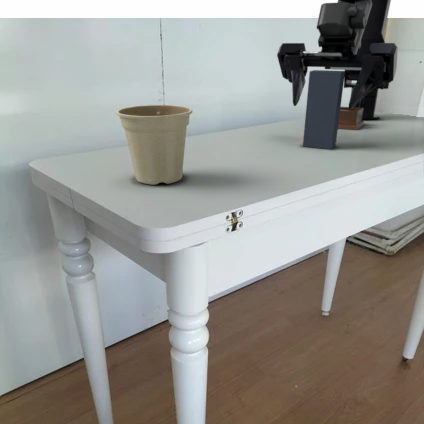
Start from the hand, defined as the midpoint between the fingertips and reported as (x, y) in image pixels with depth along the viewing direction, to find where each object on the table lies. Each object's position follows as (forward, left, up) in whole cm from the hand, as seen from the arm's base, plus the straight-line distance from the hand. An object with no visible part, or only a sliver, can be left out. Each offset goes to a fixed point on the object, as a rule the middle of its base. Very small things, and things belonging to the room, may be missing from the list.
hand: (321, 105), depth 72 cm
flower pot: (+16, -26, -7) cm, 31 cm away
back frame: (-21, +10, -7) cm, 24 cm away
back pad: (-1, +1, -7) cm, 7 cm away
